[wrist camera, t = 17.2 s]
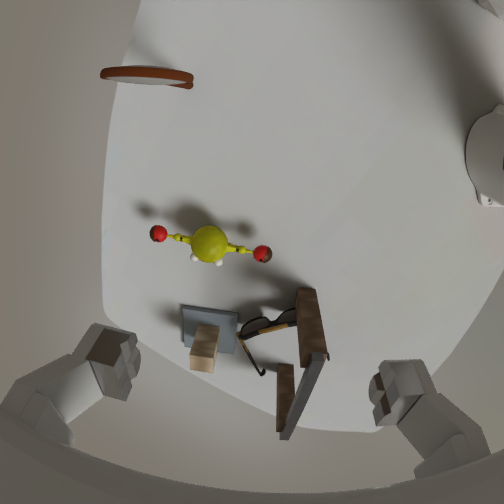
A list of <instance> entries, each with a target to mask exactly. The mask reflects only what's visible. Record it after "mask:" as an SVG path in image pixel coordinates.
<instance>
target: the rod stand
mask: <svg viewBox="0 0 504 504" xmlns="http://www.w3.org/2000/svg"><path fill="white" fill-rule="evenodd" d="M295 307H296V318H297V330H298V342H299V355H300V368H306V365H307V362H308V360H309V357H310V354H311V352H321V353H323V355H324V361H325V360H326V357H327V355H328V353H327V347H326V341H325V336H324V330H323V325H322V320H321V314H320V309H319V304H318V299H317V294H316V290H315V289H306V288H298V291H297V295H296V300H295ZM323 365H324V364H323ZM294 397H295V387H294V366H293V365H288V364H279V367H278V370H277V415H276V431H277V432H280V431H281V429H282V426H283V424H284V422H285V419H286V417H287V414H288V412H289V409H290V407H291V404H292V402H293V399H294Z"/></svg>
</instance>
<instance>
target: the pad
mask: <svg viewBox="0 0 504 504" xmlns="http://www.w3.org/2000/svg"><path fill="white" fill-rule="evenodd" d="M237 321H238V313H233V312H226V311H219V310H212V309H205V308H198V307H191V306H185V305H184V307H183V328H184V346H185V347H189V348H192V344H193V341H194V338H195V335H196V331H197V328H198V325H199V324H204V325H211V326H217V327H220V339H219V346H218V351H217V352H221V353H228V354H234V350H235V340H236V331H237Z"/></svg>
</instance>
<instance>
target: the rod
mask: <svg viewBox="0 0 504 504" xmlns="http://www.w3.org/2000/svg"><path fill="white" fill-rule="evenodd" d="M324 362H325V361H324V355H323V353H321V352H311V354H310V357H309V360H308V362H307V365H306V368H305V371H304V373H303V376H302V379H301V381H300V384H299V387H298V389H297V392H296V394H295V397H294V399H293V402H292V404H291V407H290V409H289V412H288V414H287V417H286V419H285V422H284V424H283V426H282V429H281V431H280V440H289V438H290V436H291V434H292V432H293V430H294V428H295V426H296V424H297V422H298V420H299V418H300V416H301V414H302V412H303V410H304V407H305V405H306V403H307V401H308V399H309V397H310V394H311V392H312V390H313V388H314V385H315V383H316V381H317V378H318V376H319V374H320V371H321V369H322V367H323V364H324Z"/></svg>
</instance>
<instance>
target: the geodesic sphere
mask: <svg viewBox="0 0 504 504" xmlns="http://www.w3.org/2000/svg"><path fill="white" fill-rule="evenodd" d="M477 1H478V2H479V4H480V5H481V6H483V7H484V8H485V9H487V10H488V11H489V12H491V13H492V14H493V15H495V16H496V17H497V18H499V19H503V20H504V0H477Z"/></svg>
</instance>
